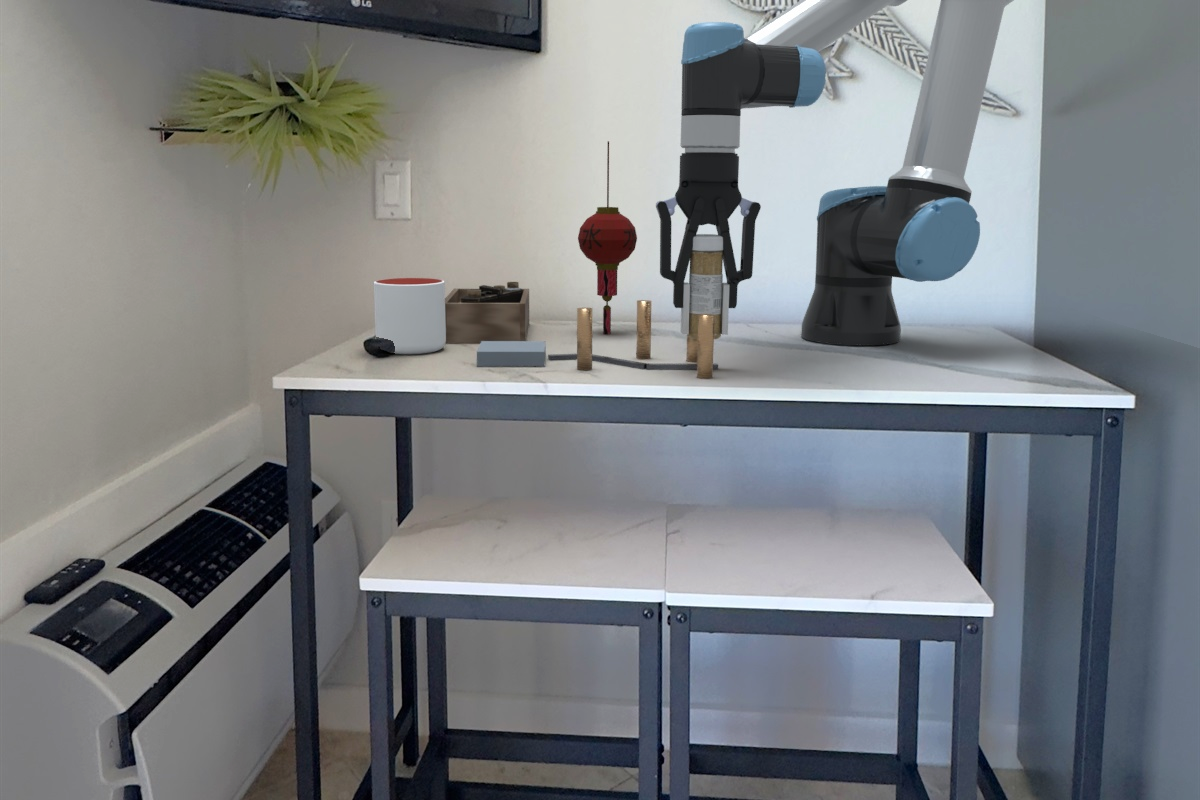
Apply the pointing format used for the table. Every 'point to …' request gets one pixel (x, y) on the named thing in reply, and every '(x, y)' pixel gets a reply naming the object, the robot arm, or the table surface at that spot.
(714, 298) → the sprinkles bottle
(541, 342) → the pad
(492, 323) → the camera corral
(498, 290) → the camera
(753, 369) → the table surface
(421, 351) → the cup
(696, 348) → the wire course
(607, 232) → the lantern
